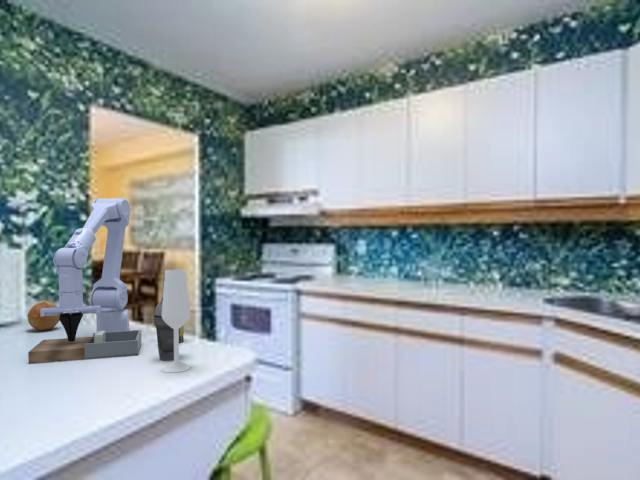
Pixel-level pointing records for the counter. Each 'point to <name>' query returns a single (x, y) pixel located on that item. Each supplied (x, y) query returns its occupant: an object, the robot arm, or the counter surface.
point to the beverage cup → (164, 335)
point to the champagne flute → (175, 311)
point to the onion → (44, 321)
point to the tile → (99, 337)
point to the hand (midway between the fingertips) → (71, 340)
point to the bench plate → (59, 350)
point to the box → (115, 345)
